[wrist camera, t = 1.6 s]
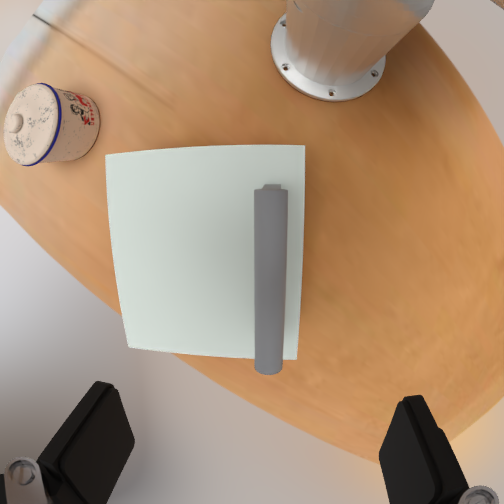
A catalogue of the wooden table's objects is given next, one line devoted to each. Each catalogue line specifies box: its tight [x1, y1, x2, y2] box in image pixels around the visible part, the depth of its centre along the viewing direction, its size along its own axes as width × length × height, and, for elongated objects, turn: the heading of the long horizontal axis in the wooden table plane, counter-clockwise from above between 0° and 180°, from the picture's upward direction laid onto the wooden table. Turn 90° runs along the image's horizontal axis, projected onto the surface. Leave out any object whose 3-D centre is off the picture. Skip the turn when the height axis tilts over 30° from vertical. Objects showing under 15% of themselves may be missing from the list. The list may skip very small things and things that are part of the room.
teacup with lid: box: [4, 83, 100, 166], centre depth 27 cm, size 12×9×12 cm
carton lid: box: [105, 145, 305, 375], centre depth 23 cm, size 18×16×7 cm
